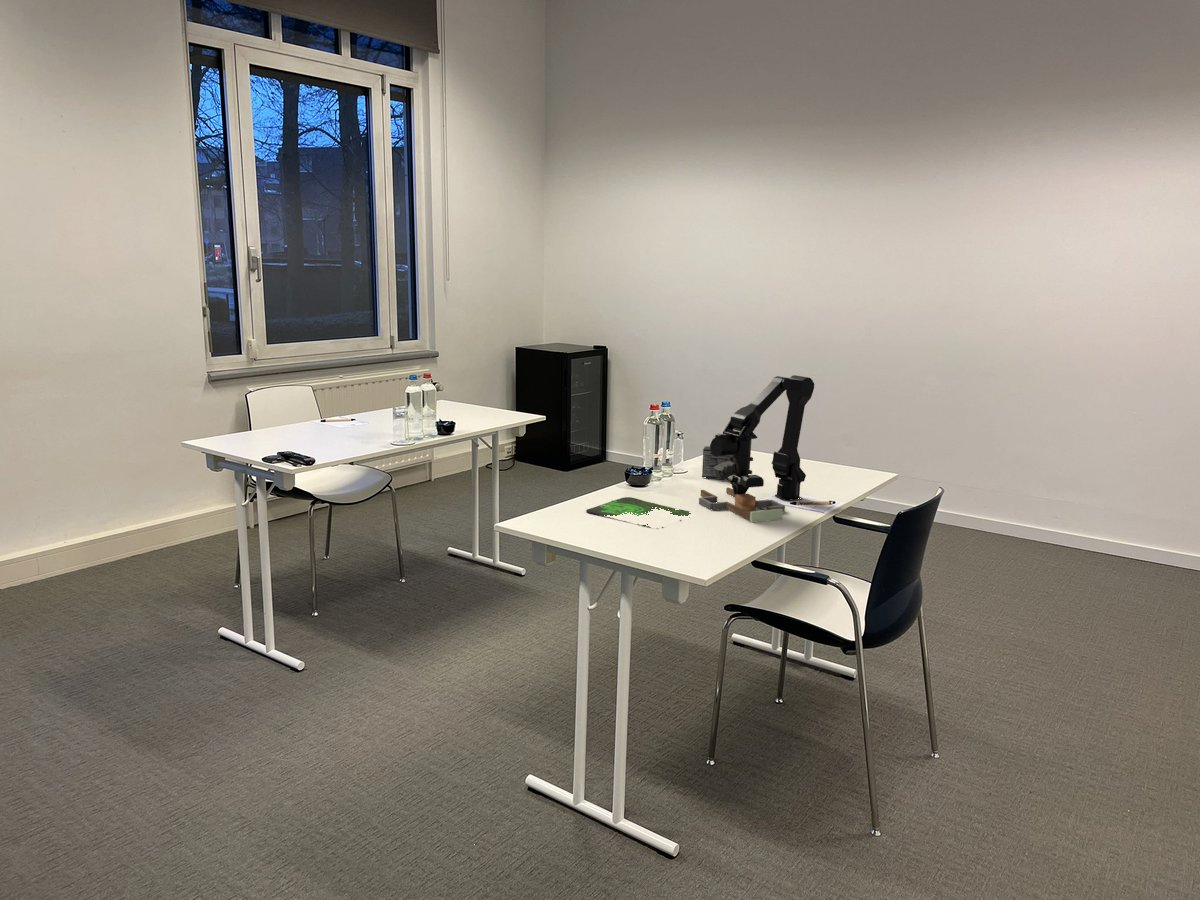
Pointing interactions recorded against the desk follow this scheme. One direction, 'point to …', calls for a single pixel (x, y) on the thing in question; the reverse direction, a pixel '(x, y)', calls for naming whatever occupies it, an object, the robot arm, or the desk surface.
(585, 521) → the desk surface
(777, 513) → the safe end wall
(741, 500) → the wooden cube
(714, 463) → the small box
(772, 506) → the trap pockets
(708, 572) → the desk surface
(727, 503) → the lane walls
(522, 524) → the desk surface
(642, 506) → the mouse mat
